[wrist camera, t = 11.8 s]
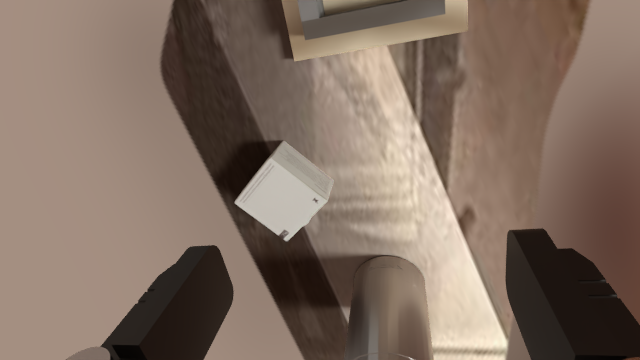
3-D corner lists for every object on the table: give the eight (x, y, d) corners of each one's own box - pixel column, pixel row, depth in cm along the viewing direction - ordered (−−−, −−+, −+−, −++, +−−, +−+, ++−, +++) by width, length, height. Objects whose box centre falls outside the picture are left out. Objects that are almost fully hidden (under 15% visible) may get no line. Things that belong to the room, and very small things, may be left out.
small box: (283, 138, 42) (270, 156, 37) (335, 179, 43) (329, 202, 39) (247, 182, 45) (231, 203, 41) (297, 219, 47) (287, 244, 42)
